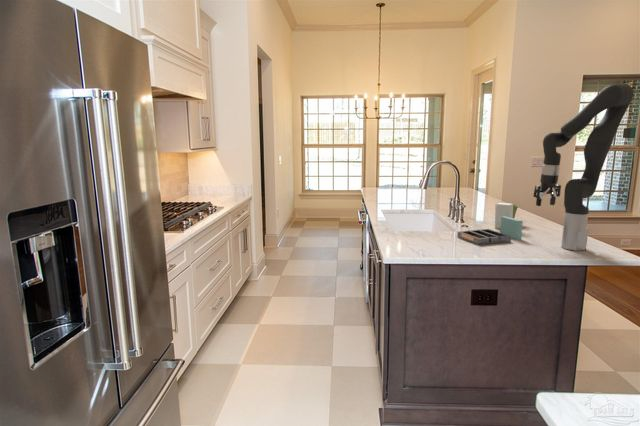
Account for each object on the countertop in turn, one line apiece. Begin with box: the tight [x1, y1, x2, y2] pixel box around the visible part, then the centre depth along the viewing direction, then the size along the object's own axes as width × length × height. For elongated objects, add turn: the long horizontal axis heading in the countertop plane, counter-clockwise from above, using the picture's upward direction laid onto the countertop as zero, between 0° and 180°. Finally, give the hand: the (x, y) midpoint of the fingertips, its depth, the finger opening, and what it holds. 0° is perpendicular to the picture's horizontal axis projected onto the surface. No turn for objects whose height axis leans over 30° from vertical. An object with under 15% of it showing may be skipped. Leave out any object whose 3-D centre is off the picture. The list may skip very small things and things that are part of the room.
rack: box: [457, 228, 512, 246], centre depth 205 cm, size 17×20×3 cm
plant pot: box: [513, 204, 520, 219], centre depth 241 cm, size 12×12×11 cm
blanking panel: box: [499, 216, 524, 241], centre depth 209 cm, size 12×3×10 cm, turn 16°
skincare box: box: [494, 202, 514, 230], centre depth 227 cm, size 8×6×15 cm
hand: (545, 205), depth 199 cm, fingers open, 8 cm apart
